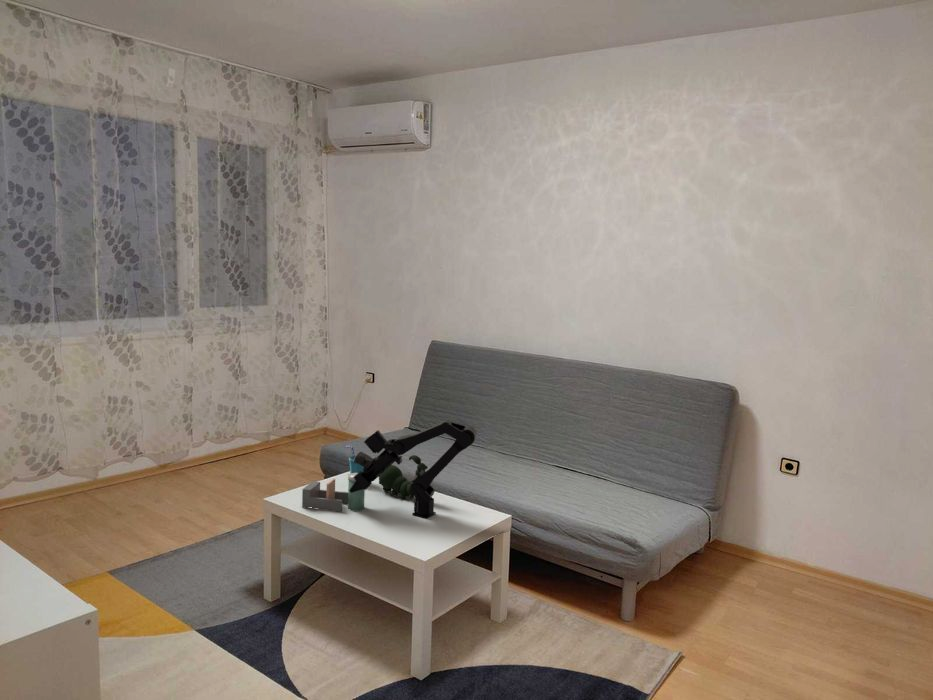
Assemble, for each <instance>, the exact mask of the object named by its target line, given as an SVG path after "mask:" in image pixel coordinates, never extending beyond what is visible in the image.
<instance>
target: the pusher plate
mask: <svg viewBox="0 0 933 700" xmlns="http://www.w3.org/2000/svg"><path fill="white" fill-rule="evenodd" d="M326 490H327V492H326V498H327V499H335V491H336V478H332V479H331V480H329V482H327V483H326Z"/></svg>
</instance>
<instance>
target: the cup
mask: <svg viewBox="0 0 933 700" xmlns="http://www.w3.org/2000/svg"><path fill="white" fill-rule="evenodd" d="M345 448H348V449H349V448H350V450H351V454H352V456H351V457H348V462H349V474H351V473H359V472H360V471H363V468H364V467H363V466H361V465H359V464H358V463H355V462H354V460H355V457H356V456H357V455H355V450H354V447H353V445H346V446H345Z"/></svg>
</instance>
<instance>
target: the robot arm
mask: <svg viewBox="0 0 933 700" xmlns="http://www.w3.org/2000/svg"><path fill="white" fill-rule="evenodd" d="M445 434H446V435H448V436H450V437H451V438H453V439H454V442H453V444H452V445H451V446H450V447H448V449H447V450H446V451H445V452H444V453H443V454H442V455H441V456H440V457H439V458H438V459H437V460H436V462H434V464H433V465H432V466H431V467H430V468H429V469H426V470H425V472H424V471H423V469H422V470H421V472H420V473H419V474H418V475H417V476H415V475H414V476H413V479H412V480H411V481H410V482H413V483H412V484H411V486H410V489H411V492H412V493H413V494H414V499H415V500H414V503H413V504H414V505H413V506H414V507H413V512H412V516H416V517H420V518H423V519H428V518H430V517H432V516H435V515H436V513H437V512H435V511H434V510H435V509H434V507H435V497H434V498H433V496H434V495H435V491H436V489H435V488H434V487H433V486H432V485H431V484H432V483H433V482H434V480H435V478H436V477H437V476H438V475H439V474H440V473H441V472H442V471H443V470H444V469H445V468H446V467H447V466H448V465H449V464H450V463H451V461H453V460H454V458H456V457H457V456H458V454H460V453H461V452H462V451H464V450H466V449H467V448H468V447H469V446H472V445H473V443H474V442H475V440H476V439H477V437H478V432H477V430H476V428H475V427H473V426H470V425H469V426H468V425H467V426H466V425H463V424H460V423H457V422H456V423H455V422H454V421H450V420H448V419H447V420H444V421H442V422H441V423H438V424H435V425H433V426H431V427H429V428H426V429H423V430H422V431H419V432H415V433H412V434H406V435H401V436H399V437H397V438H396V439H395V438H393V439H392V438H390V439H388V440H387V439H386V438H385V436H384V435H383V434H382V433H381V431H380V430H376V431H375V432H374V433H373V434H371V435H370V436H368V437H367V438H366V439H365V440H363V443H364V444H365V445H366V446H367V447H368V449H369V450H370V451H371V452H372V453H373V454H378V455H377V456H375V457H373V458H372V457H371V456H370V455H368V454H366V453H364V452H363V451H359V452H358V453H357V454H356V455H355V456H356V457H355V460H354V462H355V463H358V464H359V465H361V466H363V467H364V468H363V471H360V472H359V473H358V474H357V475H355V476H354V479H355V480H356V482H355V483H354V484H353V486H352V487H351V489H350V490H349V491H350V492H351V493H352V492H355V491H358V490H362V489H364V490H365V491H366V490H367V489H368V488H369V487H371V486H372V482H373V481H375V480H376V479H379V476H380V475H381V474H382V473H383V472H384V471H385V470H386V469H387V468H388V467H390V466H391V465H394V464H395V463H396V464H397V465H398V466H399V465H401V464H402V462H403V459H402V458H403V456H402V455H405V453H407V452H409V451H410V450H412V449H413V448H414V447H416V446H418V445H420V444H423V443H425V442H428V441H430V440H432V439H435V438H438V437H439V436H441V435H445ZM381 451H382V452H381ZM379 453H380V454H379Z"/></svg>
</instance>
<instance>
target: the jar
mask: <svg viewBox="0 0 933 700" xmlns="http://www.w3.org/2000/svg"><path fill="white" fill-rule="evenodd" d="M357 474H358V473H351V474H350V473H349V474H348V475H347V480H348V485H347V486H348V491H347V492H348V503H347V509H348V510H349V509H350V510H349V511H353V510H358V511H362V509H363V510H364V509H365V497H366V495H365V494H366V493H365V491H366V490H364V489H362V490H358V491H355V492H352V493H351V492H350V491H349V490H350V489H351V487H352V486H353V484H354V483H355V482H356V480H355V479H354V476H355V475H357Z"/></svg>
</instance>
